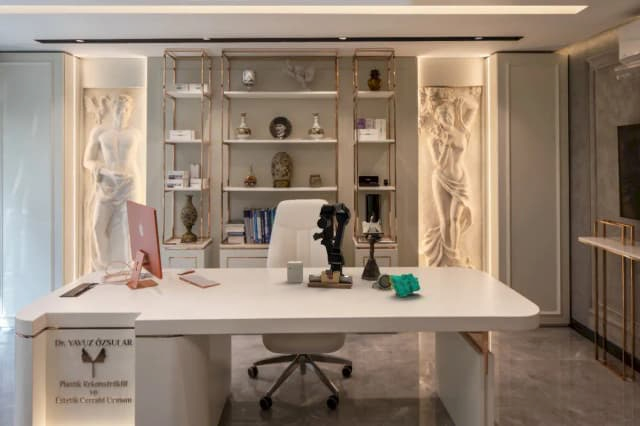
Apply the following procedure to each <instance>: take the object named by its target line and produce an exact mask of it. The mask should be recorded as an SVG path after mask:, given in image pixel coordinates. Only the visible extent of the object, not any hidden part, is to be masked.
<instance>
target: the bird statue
mask: <svg viewBox="0 0 640 426" xmlns="http://www.w3.org/2000/svg"><path fill="white" fill-rule="evenodd" d="M361 224H362V225H361V226H362V235H361V237H363V236H364V235H367V236H368V237H367V243H369V258H367V261H366V265H364V267H363V271H362V274H361V279H362V280H365V281H378V277H379V275H381V274H382V273H381V272H380V267H379V265H378V264H377V259H376V258H375V257H374V256H375V244H377V239H378V238H377V237H376V236H380V235H383V236H385V233H384V231H383V223H382V221H381V219H380V218H379V219H378V221H377V222H375V221H374V215H372V216H371V217H370V222H367V221H366V220H362V222H361Z"/></svg>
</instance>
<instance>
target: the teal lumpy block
mask: <svg viewBox="0 0 640 426" xmlns="http://www.w3.org/2000/svg"><path fill="white" fill-rule="evenodd" d="M389 275H390V276H389V277H390V283H391V287H392V289H393V290H394V291H395V293H396V294H397V295H398V296H399V295H400V296H399V297H400V298H403V296H404V297H406V295H407V296H409V295H411V294H412V293H414V292H419V291H420V290H421V288H422V287H421V286H420V283H419V276H414V274H413V273H412V272H410V273H408V274H406V273H403V274H401V275H396V274H389Z"/></svg>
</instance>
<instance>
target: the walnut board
mask: <svg viewBox="0 0 640 426" xmlns="http://www.w3.org/2000/svg"><path fill="white" fill-rule="evenodd" d="M353 285H354V280H352V283H339V284H338V283H333V280H331V279H328V283H321V282H309V281H308V283H307V288H325V289H326V288H327V289H329V288H330V289H350V290H351V289H352V286H353Z"/></svg>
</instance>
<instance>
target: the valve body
mask: <svg viewBox="0 0 640 426" xmlns="http://www.w3.org/2000/svg"><path fill="white" fill-rule="evenodd" d="M325 272H326V270H322V271H321V272H320V273H321V274H308V283H309V282H321V283H328V280H329V279H328V276H327V275H326V273H325ZM352 281H353V275H343V276H340V271H334V272H333V283H338V284H339V283H352Z"/></svg>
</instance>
